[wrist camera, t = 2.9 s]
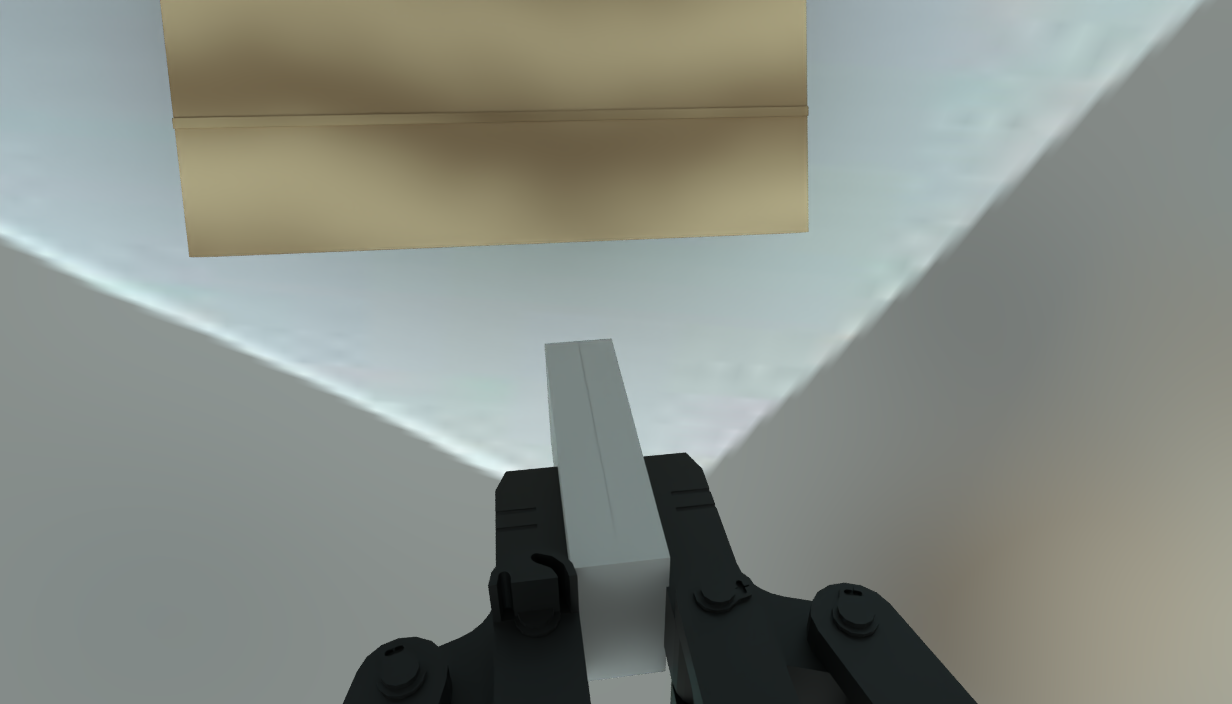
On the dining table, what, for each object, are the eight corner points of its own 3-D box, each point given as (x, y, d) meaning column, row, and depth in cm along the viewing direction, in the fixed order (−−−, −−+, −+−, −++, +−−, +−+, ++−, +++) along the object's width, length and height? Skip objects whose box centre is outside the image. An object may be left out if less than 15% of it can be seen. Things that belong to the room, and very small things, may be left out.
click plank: (176, -2, 24) (156, -17, 22) (792, -2, 26) (806, -15, 25) (204, 256, 25) (187, 256, 23) (795, 232, 27) (809, 231, 26)
